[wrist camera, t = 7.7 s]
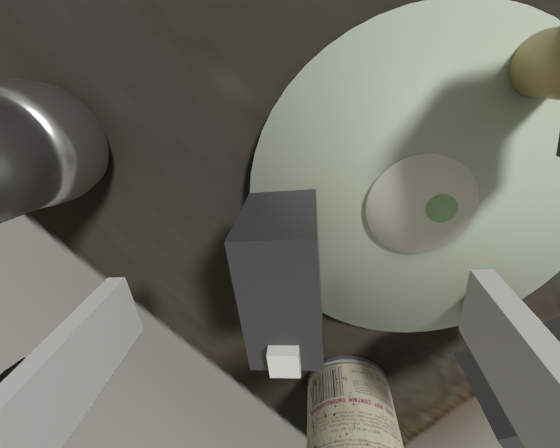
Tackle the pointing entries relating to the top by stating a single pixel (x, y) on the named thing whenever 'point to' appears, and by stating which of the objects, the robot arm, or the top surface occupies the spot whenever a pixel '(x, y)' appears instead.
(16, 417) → the robot arm
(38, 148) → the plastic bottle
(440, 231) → the base
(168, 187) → the top surface
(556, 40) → the grey block on peg
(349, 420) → the aerosol can
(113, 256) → the top surface
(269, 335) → the dark grey rectangular block
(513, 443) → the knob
